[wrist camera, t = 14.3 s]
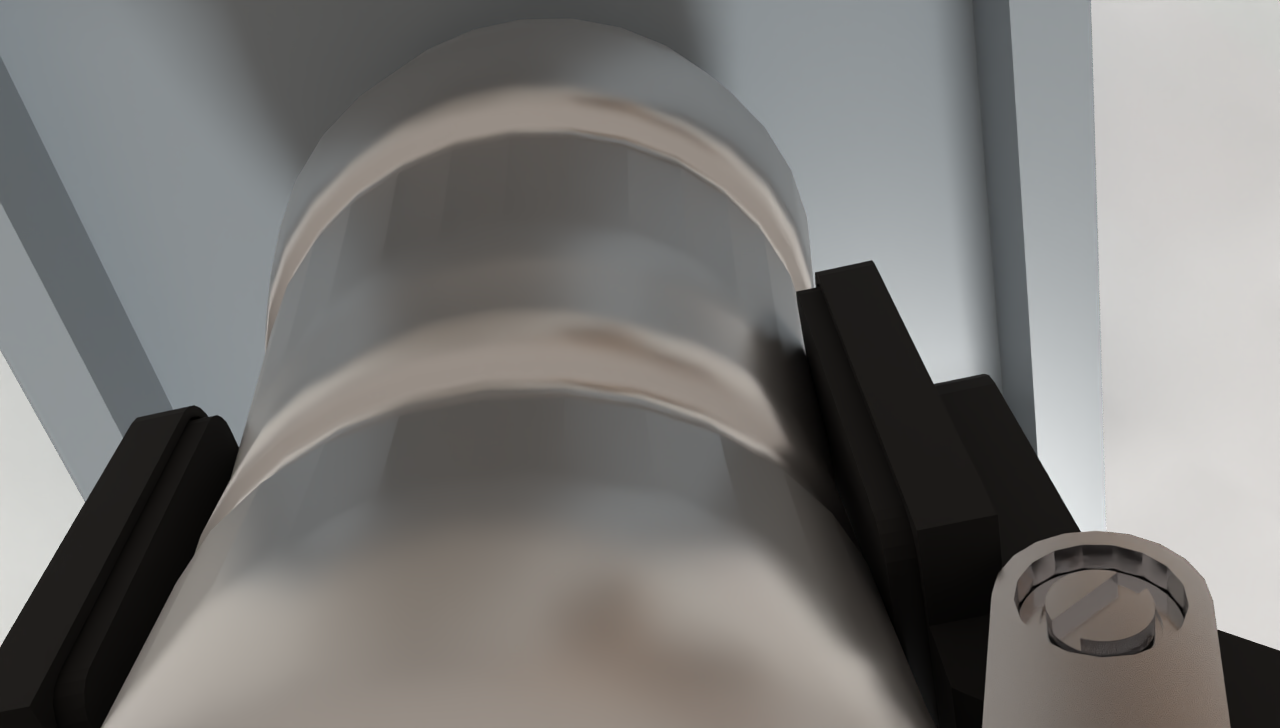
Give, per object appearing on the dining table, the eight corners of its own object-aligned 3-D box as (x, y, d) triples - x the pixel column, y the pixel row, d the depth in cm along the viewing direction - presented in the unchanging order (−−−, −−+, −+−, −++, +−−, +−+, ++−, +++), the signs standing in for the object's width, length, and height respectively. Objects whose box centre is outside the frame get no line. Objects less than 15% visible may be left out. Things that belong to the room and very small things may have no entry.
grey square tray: (1053, 471, 22) (1107, 560, 20) (249, 634, 23) (215, 737, 21) (997, -551, 14) (1073, -588, 12) (-196, -244, 15) (-321, -227, 13)
